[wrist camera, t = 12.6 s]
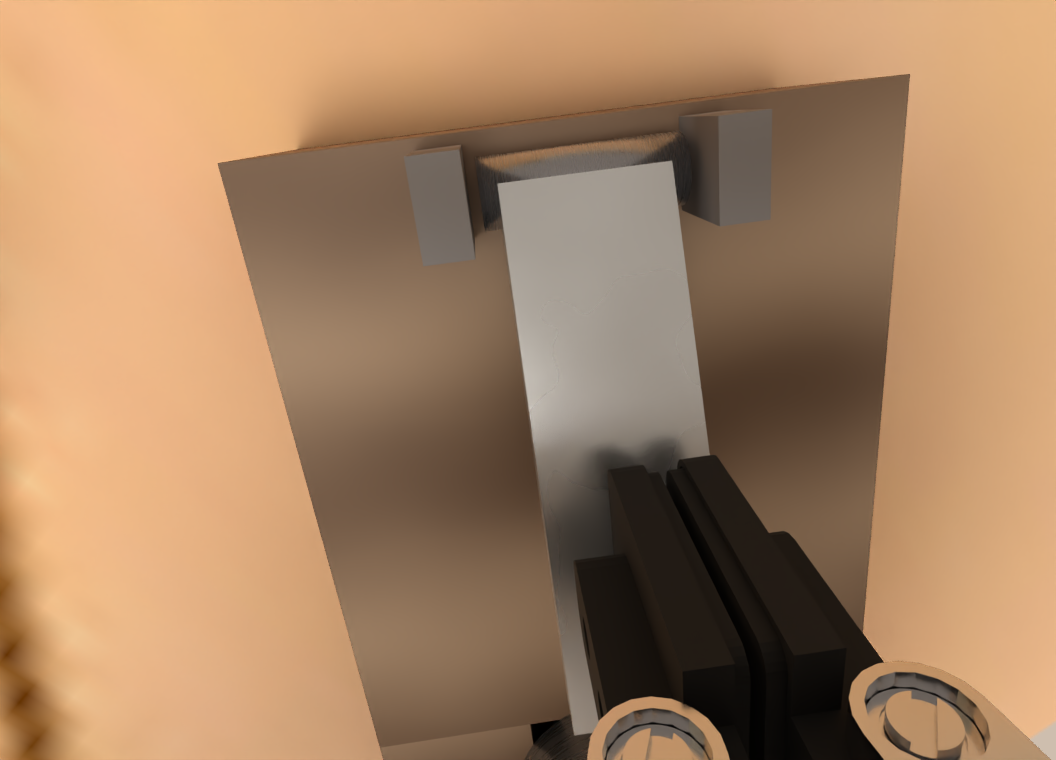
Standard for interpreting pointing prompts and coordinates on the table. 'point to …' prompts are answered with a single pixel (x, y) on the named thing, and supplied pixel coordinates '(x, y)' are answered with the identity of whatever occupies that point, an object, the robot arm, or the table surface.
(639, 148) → the keeper bar
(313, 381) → the block
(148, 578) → the table surface
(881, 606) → the table surface
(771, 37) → the table surface
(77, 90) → the table surface
